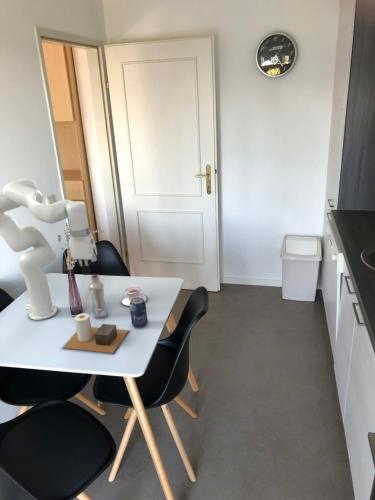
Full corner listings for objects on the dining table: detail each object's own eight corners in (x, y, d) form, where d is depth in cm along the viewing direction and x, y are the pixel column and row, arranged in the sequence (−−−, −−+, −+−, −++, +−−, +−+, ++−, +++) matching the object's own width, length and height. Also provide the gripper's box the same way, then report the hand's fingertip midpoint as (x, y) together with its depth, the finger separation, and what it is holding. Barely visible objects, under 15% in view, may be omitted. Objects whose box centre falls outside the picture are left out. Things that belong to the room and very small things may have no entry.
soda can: (136, 330, 179) (133, 306, 175) (129, 324, 184) (126, 299, 180) (150, 325, 182) (148, 301, 178) (143, 319, 188) (140, 295, 184)
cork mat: (63, 348, 170) (63, 347, 170) (82, 327, 184) (81, 326, 184) (113, 353, 164) (113, 352, 164) (128, 331, 179) (128, 330, 179)
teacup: (144, 306, 199) (143, 294, 197) (119, 307, 200) (118, 295, 197) (147, 294, 210) (146, 283, 208) (123, 295, 211) (122, 284, 209)
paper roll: (81, 347, 174) (63, 326, 173) (88, 339, 179) (70, 318, 178) (97, 336, 169) (79, 314, 168) (104, 328, 175) (86, 307, 173)
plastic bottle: (105, 319, 190) (99, 279, 182) (91, 319, 191) (84, 279, 184) (110, 312, 195) (104, 273, 188) (97, 311, 197) (90, 273, 190)
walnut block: (95, 344, 170) (94, 334, 168) (104, 334, 177) (102, 323, 176) (109, 346, 169) (107, 335, 167) (117, 335, 176) (115, 324, 174)
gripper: (100, 229, 172) (106, 270, 178) (68, 229, 176) (75, 269, 182) (92, 235, 165) (99, 278, 172) (58, 234, 169) (66, 276, 175)
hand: (86, 273), depth 177 cm, fingers closed
